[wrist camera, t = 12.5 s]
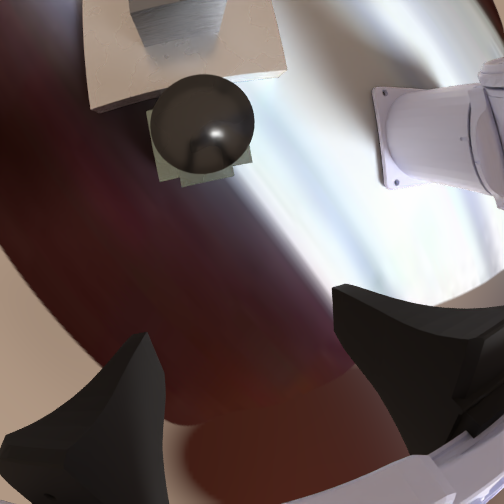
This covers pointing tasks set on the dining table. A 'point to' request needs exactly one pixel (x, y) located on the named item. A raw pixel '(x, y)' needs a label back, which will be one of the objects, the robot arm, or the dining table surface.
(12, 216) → the dining table surface
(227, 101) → the press ram
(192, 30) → the housing
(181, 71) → the plate
